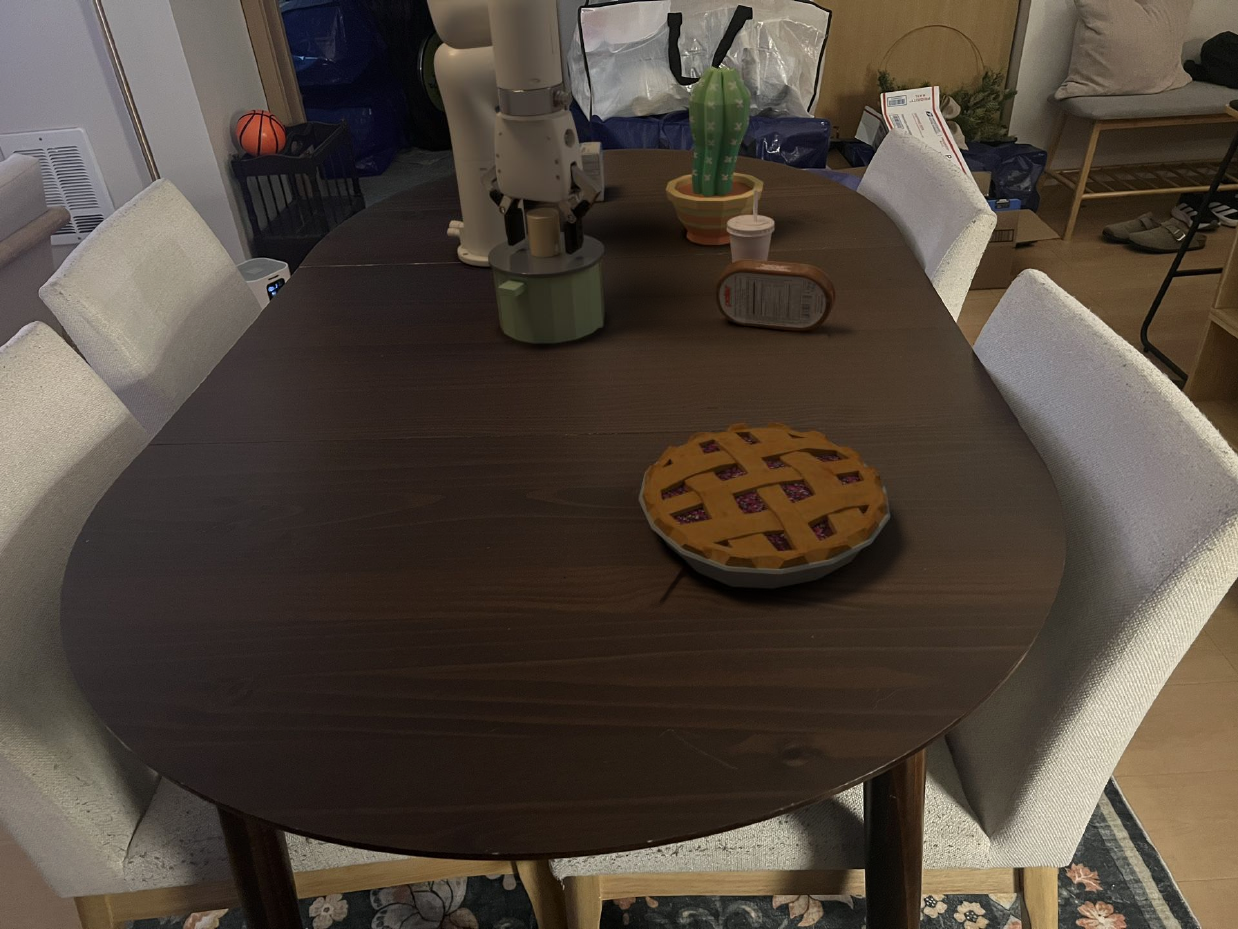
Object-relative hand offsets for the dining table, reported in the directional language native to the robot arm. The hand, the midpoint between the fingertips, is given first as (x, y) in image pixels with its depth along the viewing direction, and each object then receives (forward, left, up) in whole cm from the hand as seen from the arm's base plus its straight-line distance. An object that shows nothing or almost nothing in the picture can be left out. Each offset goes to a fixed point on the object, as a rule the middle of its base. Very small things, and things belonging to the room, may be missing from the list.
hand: (545, 245), depth 116 cm
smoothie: (+20, +20, -11) cm, 30 cm away
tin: (+27, +10, -11) cm, 31 cm away
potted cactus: (+7, +39, -11) cm, 41 cm away
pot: (0, 0, -11) cm, 11 cm away
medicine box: (-22, +51, -11) cm, 57 cm away
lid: (0, 0, -1) cm, 1 cm away
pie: (+40, -30, -11) cm, 51 cm away
